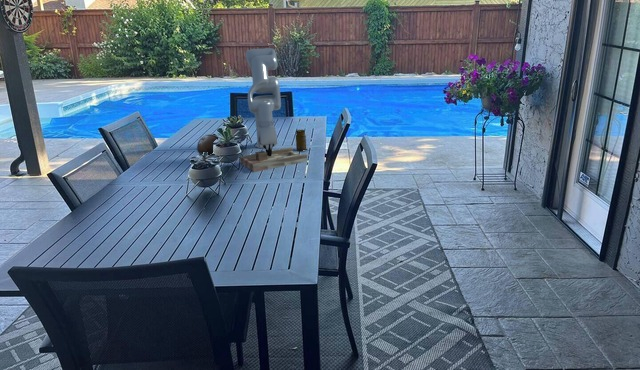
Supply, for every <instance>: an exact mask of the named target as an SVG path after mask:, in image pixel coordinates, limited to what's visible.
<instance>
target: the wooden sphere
mask: <svg viewBox="0 0 640 370" xmlns="http://www.w3.org/2000/svg"><path fill="white" fill-rule="evenodd" d="M218 138H220V137H218V136H217V135H216V134H205V135H204V136H202V137H201V138H200V139H199V140H198V142H197V146H196V149H197V150H196V151H197V152H198V155H199V156H200V155H202V154H203V152H208V155H210V154H212V153H213V142H214V141H215V140H216V139H218Z"/></svg>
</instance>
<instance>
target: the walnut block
mask: <svg viewBox="0 0 640 370" xmlns="http://www.w3.org/2000/svg"><path fill="white" fill-rule="evenodd" d="M254 154H255V155H256V160H258V161H263V160H268V157H267V152H266V150H265V151H264V150H259V151H255V153H254Z"/></svg>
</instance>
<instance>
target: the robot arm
mask: <svg viewBox="0 0 640 370" xmlns="http://www.w3.org/2000/svg"><path fill="white" fill-rule="evenodd" d="M245 58H246V59H245V60H246V62H247V64H248V66H249V68H250V71H251V80H252V85H251V86H250V87H249V90H248V92H247V106H248V110H249V112H250V113H251V114H254V118H255V127H256V130H255V131H256V138H257V143H256V144H255V145H254V146H255V147H256V148H258V149H264V150H265V152H267V156H268V157H270V156H272V155H271V154H272V151H273V148H274V147H275V146H277V145H278V136H277V131H276V127H275V125H274V124H275V123H276V120H274V118H273V111H279V110H281V107H282V99H281V89H280V82H279V79H278V78H277V77H276V76H269V71H274V70H277V68H278V57H277V53H276V51H275V48H272V47H271V48H270V47H268V48H266V47H264V48H252V49H248V50H246V52H245ZM254 94H257V96H255V97H253V95H254ZM258 94H259V95H258ZM260 94H261V95H260ZM263 94H264V95H263ZM265 94H267V95H265ZM269 94H270V95H269Z"/></svg>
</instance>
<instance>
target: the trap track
mask: <svg viewBox="0 0 640 370" xmlns="http://www.w3.org/2000/svg"><path fill="white" fill-rule="evenodd" d="M271 155H272V156H270V157H268V156H267V157H268V160H263V161H258V160H256V155H255V153H252V154H247V155H242V156H239V159H240V160H239V161H240V165H242V166H243V167H245V168H247V169H248V170H250V171H251V172H253V173H256V172H263V171H266V170H272V169H275V168H281V167H286V166H287V167H288V166H290V165H296V164H301V163H306V162H308V154H307V153H304V154H300V153H298V152H297V151H295V150H294V149H293V147H292V146H291V147H286V148H285V147H284V148H281V149H274V150H272V154H271Z"/></svg>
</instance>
